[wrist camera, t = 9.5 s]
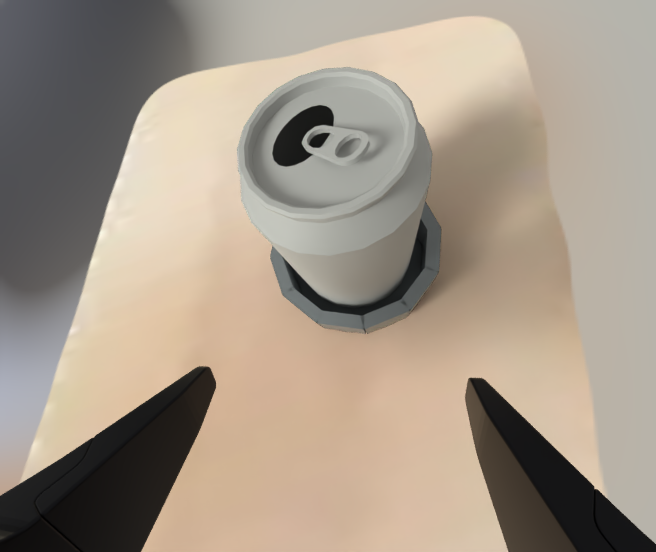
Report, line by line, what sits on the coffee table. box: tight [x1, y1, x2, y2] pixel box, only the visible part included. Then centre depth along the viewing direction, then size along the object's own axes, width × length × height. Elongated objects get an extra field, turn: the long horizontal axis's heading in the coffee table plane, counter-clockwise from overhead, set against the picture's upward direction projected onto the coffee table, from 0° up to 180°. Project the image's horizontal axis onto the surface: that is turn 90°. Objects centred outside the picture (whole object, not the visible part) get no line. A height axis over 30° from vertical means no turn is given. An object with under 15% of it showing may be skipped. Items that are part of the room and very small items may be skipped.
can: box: [237, 67, 432, 308], centre depth 15 cm, size 8×8×12 cm
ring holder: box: [270, 202, 441, 334], centre depth 20 cm, size 11×11×3 cm
